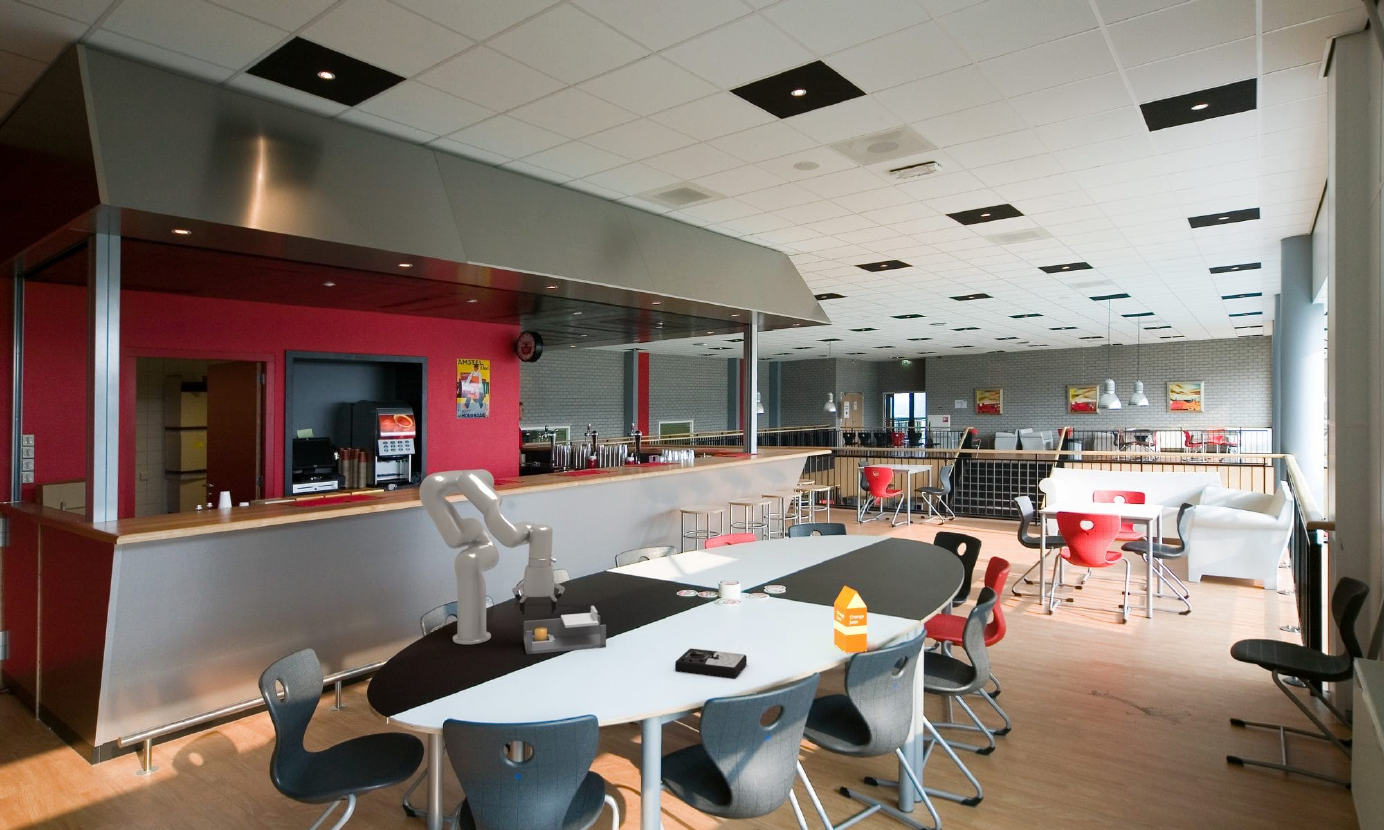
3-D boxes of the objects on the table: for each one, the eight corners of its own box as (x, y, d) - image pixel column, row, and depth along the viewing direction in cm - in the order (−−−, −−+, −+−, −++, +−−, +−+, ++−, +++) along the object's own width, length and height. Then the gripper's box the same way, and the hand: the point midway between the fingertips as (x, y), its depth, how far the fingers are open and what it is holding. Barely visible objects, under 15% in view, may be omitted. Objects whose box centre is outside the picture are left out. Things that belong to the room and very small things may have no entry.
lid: (560, 617, 258) (560, 606, 258) (592, 614, 261) (592, 604, 261) (565, 627, 246) (565, 616, 246) (598, 624, 249) (598, 613, 249)
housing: (523, 642, 255) (523, 621, 255) (599, 635, 262) (599, 615, 262) (526, 654, 242) (526, 631, 242) (606, 646, 250) (606, 625, 250)
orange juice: (845, 653, 244) (845, 592, 244) (833, 645, 252) (833, 585, 252) (867, 651, 246) (867, 590, 246) (854, 643, 254) (854, 584, 254)
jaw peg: (534, 642, 251) (534, 627, 251) (546, 641, 252) (546, 626, 252) (535, 646, 247) (535, 631, 247) (547, 645, 249) (547, 630, 249)
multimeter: (689, 659, 239) (689, 643, 239) (747, 665, 233) (747, 649, 233) (674, 672, 227) (674, 656, 227) (735, 680, 221) (735, 663, 221)
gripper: (564, 559, 256) (562, 608, 256) (512, 560, 251) (510, 610, 251) (567, 564, 249) (564, 615, 249) (513, 565, 244) (511, 617, 244)
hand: (537, 612), depth 250 cm, fingers open, 9 cm apart
